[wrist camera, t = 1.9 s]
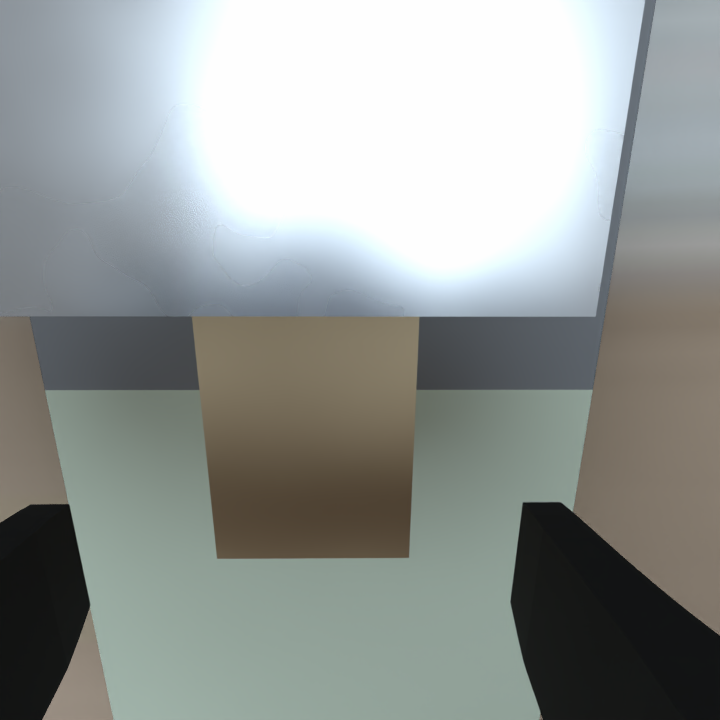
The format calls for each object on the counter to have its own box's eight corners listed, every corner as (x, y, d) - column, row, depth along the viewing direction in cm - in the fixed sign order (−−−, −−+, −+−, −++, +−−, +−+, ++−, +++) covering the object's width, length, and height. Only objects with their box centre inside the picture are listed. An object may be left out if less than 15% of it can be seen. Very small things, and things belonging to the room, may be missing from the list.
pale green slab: (516, 756, 23) (526, 797, 22) (143, 759, 23) (130, 801, 22) (779, -1034, 9) (857, -1243, 8) (-200, -1062, 9) (-303, -1280, 7)
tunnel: (510, 242, 14) (595, 317, 9) (122, 241, 14) (-3, 315, 9) (541, -86, 12) (680, -226, 7) (75, -91, 12) (-130, -236, 7)
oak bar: (396, 457, 17) (408, 557, 13) (247, 457, 17) (216, 559, 13) (419, -278, 11) (453, -474, 7) (191, -281, 11) (108, -480, 7)
